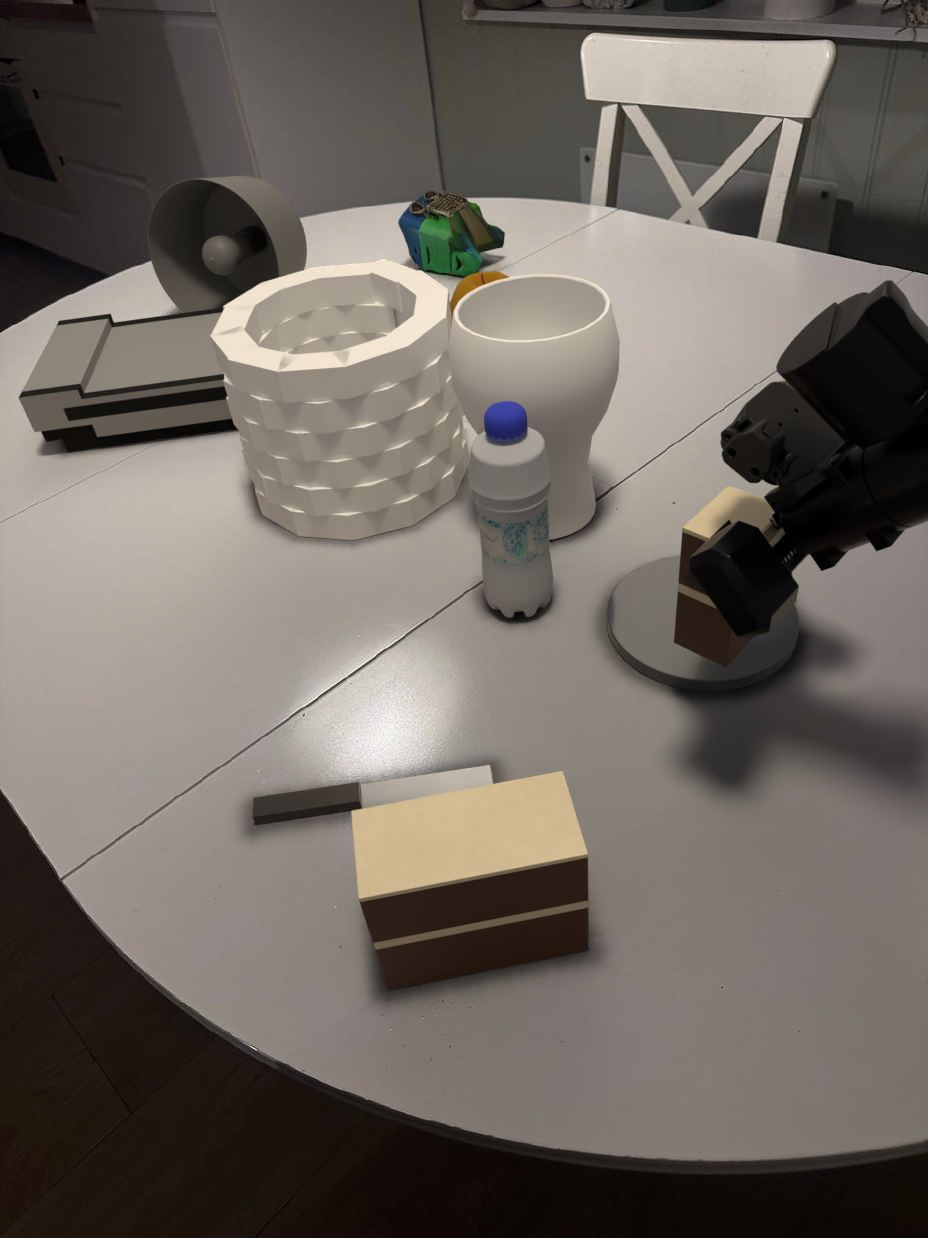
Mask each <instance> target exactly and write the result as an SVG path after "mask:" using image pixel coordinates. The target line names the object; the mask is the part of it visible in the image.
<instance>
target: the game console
mask: <svg viewBox="0 0 928 1238" xmlns="http://www.w3.org/2000/svg"><path fill="white" fill-rule="evenodd" d="M223 310H224V309H223V308H216V309H208V310H201V311H194V312H187V313H183V312H181V313H179V312H178V313H173V314H164V315H158V316H150V317H142V318H137V319H130V320H120V321H114V318H113V316H112V314H111V313H104V314H98V315H89V316H82V317H76V318H68V319H61V320H58V322H57V324H56V326H55V327H54V329H53V331H52V333H51V335H50V337H49V339H48V340H47V343H46V344H45V347H44V348H43V350H42V351H41V354H40V356H39V358H38V359H37V361H36V363H35V366H34V367H33V369H32V371H31V373H30V375H29V377H28V379H27V381H26V383H25V384H24V386H23V388H22V390H21V391H20V393H19V396H18V400H19V402H20V404H21V406H22V408H23V409H22V410H23V411H24V412H25V415H26V417H27V419H28V421H29V424H30V426H31V428H32V430H33V432H34V433H38V432H39V433H41V435H42V437H43V439H44V442H46V443H49V442H56V441H61V442H62V445H63V446H64V448H65V450H66V453H75V452H80V451H88V450H89V451H90V450H95V449H102V448H110V447H111V448H112V447H117V446H124V445H132V444H133V445H134V444H138V443H147V442H153V441H161V440H168V439H175V438H182V437H191V436H196V435H205V434H212V433H219V432H226V431H233V430H238V428H237V427H236V426H235V425H234V423H233V420H232V416H231V413H230V410H229V406H228V403H227V400H226V397H228V396H227V392H226V389H225V386H224V382H223V380H225V379H224V371H223V370H222V369H221V367H220V366H219V364H218V361H217V357H216V354H215V351H214V347H213V344H212V341H211V337H210V335H211V334H212V332H213V330H214V328H215V326H216V324H217V322H218V320H219V318H220V316H221V314H222V312H223Z"/></svg>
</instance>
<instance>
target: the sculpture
mask: <svg viewBox="0 0 928 1238" xmlns="http://www.w3.org/2000/svg"><path fill="white" fill-rule="evenodd" d="M397 224H398V227H399V229H400V231H401V233H402V235H403V237H404V241H405V243H406V246H407V249H408V255H409V256H410V258H411V260H412V261H413V263H414V264H415V265H416V266H418V267H419V269H420V270H422V271H425V272H428V271H434V272H436V273H441V274H449V275H454V276H458V277H463V278H465V277H467V276H469V275H472V274H475V273H479V270H480V268H481V266H482V264H483V262H484V261H483V259H482V255H481V254H483V253H485V252H489V251H493V250H496V249H497V250H498V249H502V248H504V245H505V236H506V232H505V231H503V229H501V228H500V227H498V226H496V225H493V224H490V223H488V222H487V221H486V219H485V218H484V216H483V213H482V210H481V207H480V205H478V204H477V203H476V202H471V201H469V200H468V199H467V198H465V196H462V195H459V194H455V193H452V192H449V191H446V190H442V189H440V192H438V191H435V190H427V191H424V192H422V194H421V195H420V196H418V198H416V199H415V200H413V201H412V202H411V203H410V204H409V205H408V206H407V208H405V210H404V211H403V212H402V214H401V215H400V217H399V218H398V221H397Z"/></svg>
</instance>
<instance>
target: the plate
mask: <svg viewBox="0 0 928 1238" xmlns="http://www.w3.org/2000/svg"><path fill="white" fill-rule="evenodd" d="M679 567H680V555H675V556H674V555H673V556H669V557H665V558H661V559H657V560H653V561H651V562H649V563H646V564H643V565H641V566H639V567H638V568H636V569H634V570H633V571H632V572H630V573H628V574H627V575H626V576H625V577H624V578H622V580H620V582H619V583H617V585H616V586H615V588H614V589H613V591H612V593H611V594H610V596H609V599H608V602H607V606H606V607H607V608H606V629H607V633H608V637H609V639H610V641H611V644H612V646H613V648H614V649H615V650H616V651H617V653H618V654H619V656H621V658H622V659H623V660H624V661H625V662H626V663H627V664H629V666H631V667H632V668H633V669H635V670H636V671H638V672H640V673H641V674H643V675H644V676H646V677H648V678H649V679H652V680H655V681H657V682H660V683H662V684H665V685H669V686H672V687H675V688H680V689H685V690H691V691H701V692H702V691H703V692H718V691H729V690H735V689H739V688H743V687H747V686H750V685H753V684H756V683H758V682H760V681H762V680H765V679H766V678H768V677H770V676H772V675H773V674H775V673H776V672H777V671H778V670H780V669H781V668H782V667H783V666H784V665H785V663H787V661H788V660H789V659H790V658H791V655H792V654H793V652H794V651H795V647H796V644H797V641H798V636H799V631H800V615H799V612H798V609H797V607H796V603H795V604H794V605H793V606H792V607H791V608H790V609H789V610H788V611H787V613H786V614H785V615H784V616H783V617H782V618H781V619H780V620H779V621H778V623H777V624H776V625H775V626H774V627H773V628H772V629H771V630H770V632H768V633H765V634H761V635H758V636H755V637H754V638H753V639H752V640H751V641H750V642H749V643H748V644H747V645H746V646H745V647H744V649H743V650H742V651H741V652H740V653H739V654H738V655H737V656H736V657H735V658H734V659H733V661H732V662H731V663H730V664H729V665H728V666H727V667H723V666H721V665H719V664H717V663H715V662H713V661H711V660H709V659H707V658H705V657H703V656H700V655H698V654H696V653H694V652H692V651H690V650H688V649H686V648H684V647H682V646H680V645H678V644H676V643H674V634H675V620H676V607H677V594H678V583H679V582H678V580H679Z"/></svg>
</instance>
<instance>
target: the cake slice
mask: <svg viewBox="0 0 928 1238" xmlns="http://www.w3.org/2000/svg"><path fill="white" fill-rule="evenodd" d="M773 512H774V511H773V510H772V508H771V507H770V505H769V504H768V502H767V501H766V499H765V498H764V497H762V496H759V495H756V494H753V493H750V492H748V491H745V490H743V489H742V490H741V489H739V488H737V487H733V486H731V485H727V486H726V487H725V488H724V489H722V491H721V492H719V493H718V494H717V495H716V496H715V497H714V498H713V499H712V500H710V501H709V502H708V503H707V504H706V505H705V506H704V507H703V508H702V509H700V510H699V511H698V512H697V513H696V514H695V515H694V516H693V517H692V518H691V519H689V521H688V522H686V523H685V524H684V525H683V526H682V527H681V541H680V555H679V556H680V567H679V580H678V582H679V583H678V594H677V607H676V620H675V634H674V643H676V644H678V645H680V646H682V647H684V648H686V649H688V650H690V651H692V652H694V653H696V654H698V655H700V656H703V657H705V658H707V659H709V660H711V661H713V662H715V663H717V664H719V665H721V666H723V667H727V666H728V665H729V664H730V663H731V662H732V661H733V659H734V658H735V657H736V656H737V655H738V654H739V653H740V652H741V651H742V650H743V649H744V647H745V646H746V645H747V644H748V643H749V642H750V641H751V640H752V639H753V638H754V637H752V638H748V639H745V638H740V637H737V636H736V635H735V633H734V632H733V630H732V629H731V628H730V626H729V625H728V623H727V622H726V621H725V619H724V618H723V616H722V615H721V614H720V612H719V611H718V609H717V608H716V606H715V605H714V604H713V602H712V601H711V599H710V598H709V597H708V595H707V594H706V593H704V592H700V591H697V590H693V589H691V588H690V587H689V585H688V584H687V583H686V581H685V580H684V576H685V575H686V574H687V573H689V572H690V566H689V557H690V556H692V555H693V554H694V553H695V552H696V551H697V550H698V549H699V548H700V547H701V546H702V545H703V544H704V543H705V542H706V541H707V540H708V539H709V538H710V537H711V536H712V535H713V534H714V533H715V532H716V531H717V530H718V529H719V528H720V527H721V526H723V525H724V524H725V523H726V522H727V521H728V520H730V521H731V523H734V522H737V521H742V522H745V523H747V524H750V525H753V526H755V527H758V528H759V529H760V531H761V532H762V534H763V535H764V536H765V538H766V539H767V541H768V540H769V539H770V538H771V537H772V536H773V535H774V534H775V533H776V532H777V531H778V530H779V529H778V530H776V529H775V528H774V527H773V525H772V524H771V523H770V521H769V516H770V515H771V514H772V513H773ZM781 527H782V526H781Z"/></svg>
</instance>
